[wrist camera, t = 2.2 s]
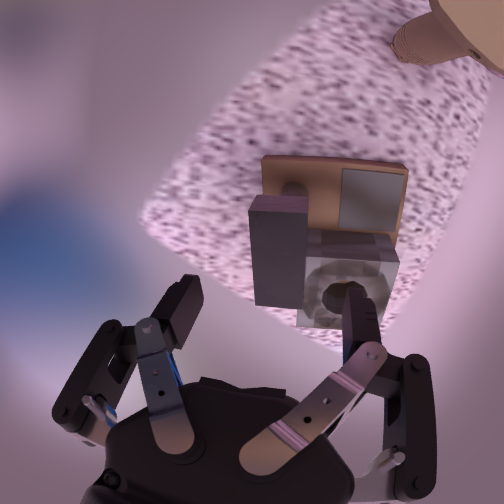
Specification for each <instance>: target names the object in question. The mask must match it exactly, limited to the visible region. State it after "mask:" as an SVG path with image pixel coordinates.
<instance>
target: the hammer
mask: <svg viewBox="0 0 504 504" xmlns="http://www.w3.org/2000/svg"><path fill="white" fill-rule="evenodd" d="M308 212H309V196H308V191H307V189H306V188H305V187H304V186H303V185H302V184H300V183H297V182H289V183H287V184H285V185H284V186H283V187H282V188H281V190H280V193H279V195H257V196H256V197H255V199H254V201H253V203H252V205H251V206H250V208H249V210H248V215H249V229H250V242H251V255H252V268H253V281H254V295H255V305H257V306H267V307H278V308H289V309H301V310H302V306H303V297H304V287H305V273H306V257H307V237H308Z"/></svg>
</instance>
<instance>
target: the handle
mask: <svg viewBox="0 0 504 504" xmlns="http://www.w3.org/2000/svg"><path fill="white" fill-rule="evenodd" d="M429 4H430V7H431V10H432V11H431V12H429V13H426V14H424V15H422V16H419V17H417V18H415V19H412V20H411V21H409V22H407V23H406V24H405V25H403V26H402V27H401V28H400V29H399V31H398V32H397V34H396V35H395V36H394V41H393V43H392V44H391V49H392V50H393V51H394V52H395V53H396V54H397V56H398V59H399V60H400V61H401V62H404V63H408V62H409V63H413V64H418V65H431V64H438V63H442V62H446V61H449V60H453V59H456V58H460V57H464V56H470V57H472V58H473V59H474V60H476V61H478V62H479V63H481V64H483V65H484V66H486V67H488V68H490V69H492V70H494V71H496V72H499V73H501V74H503V75H504V0H429Z"/></svg>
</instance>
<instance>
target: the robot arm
mask: <svg viewBox="0 0 504 504" xmlns="http://www.w3.org/2000/svg"><path fill="white" fill-rule="evenodd" d="M487 68H488V67H487ZM488 69H489V70H490V71H491V72H492V73H494V74H495V75H497V76H498V77H500V78H503V79H504V75H503V74H501V73H499V72H496V71H494V70H492V69H490V68H488ZM203 301H204V296H203V291H202V287H201V283H200V278H199V276H198V275H192V274H185V275H184V276H183V277H182V279H181V280H180V282H175V283H174V284H173V285H172V286H170V287H169V288H168V289H167V291H166V293H165V295H164V296H163V297H162V300H160V302H159V303H158V305H157V306H156V308H155V309H154V311H153V313H152V314H151V316H150V317H147V318H143V319H141V320H140V321H138V322H137V323H136V325H135V326H122V325H121V323H120V322H119V321H118V320H115V319H112V320H108V321H106V322H104V323H103V324H102V325H101V327H100V328H99V330H98V331H97V333H96V334H95V336H94V337H93V339H92V341H91V342H90V344H89V345H88V347H87V349H86V350H85V352H84V354H83V355H82V357H81V358H80V360H79V362H78V363H77V365H76V367H75V368H74V370H73V372H72V373H71V375H70V377H69V379H68V380H67V382H66V384H65V386H64V388H63V389H62V391H61V393H60V395H59V396H58V398H57V400H56V402H55V404H54V406H53V408H52V417H53V420H54V421H55V422H56V423H58V424H59V425H60V426H61V427H63V428H64V429H65V430H66V431H67V432H68V433H70V434H71V435H72V436H74V437H75V438H77V439H78V440H81V441H82V442H84V443H85V444H87V445H88V446H98V447H100V448H103V449H105V451H106V462H105V469H104V471H103V473H102V475H101V476H100V477H99V479H98V480H97V481H96V482H94V483H93V484H92V485H91V486H90V487H89V488H88V489H87V490H86V492H85V494H84V496H83V498H82V500H81V503H80V504H374V503H380V504H404V503H408V502H411V501H415V500H418V499H421V498H424V497H426V496H427V495H428V494H430V493H431V492H432V490H433V489H434V487H435V484H436V473H437V472H436V471H437V436H436V417H435V405H434V395H433V387H432V379H431V372H430V365H429V363H428V361H427V359H426V358H425V357H423V356H422V355H419V354H410V355H408V356H407V357H406V358H405V359H404V358H400V357H397V356H393V355H391V354H389V353H388V352H387V350H386V348H385V347H384V346H383V345H382V342H381V336H380V329H379V323H378V317H377V311H376V306H375V304H374V302H373V301H372V300H371V298H363V293H362V288H357V287H347V291H346V296H345V301H344V306H343V311H342V335H343V366H342V367H341V368H340V369H339V370H338V371H337V372H332V373H331V374H330V375H329V376H328V377H327V378H325V379H324V381H322V382H321V384H319V385H318V386H317V387H316V388H315V389H314V390H313V391H312V392H311V393H310V394H309V395H308V396H307V397H305V398H304V399H303V400H302V401H301V402H299V401H297V400H295V399H294V398H292V397H289V396H286V390H285V389H276V388H268V387H259V388H246V389H241V388H238V387H235V386H233V385H231V384H228V383H226V382H224V381H221V380H217V379H212V378H207V377H201V379H200V381H199V382H194V383H189V384H185V385H183V382H182V380H181V377H180V374H179V372H178V369H177V366H176V363H175V360H174V357H173V354H172V351H173V349H174V348H176V349H180V350H181V349H182V347H183V345H184V343H185V341H186V339H187V337H188V335H189V333H190V331H191V329H192V326H193V324H194V322H195V320H196V318H197V316H198V314H199V312H200V310H201V308H202V306H203ZM113 355H114V357H113ZM112 357H113V358H112ZM111 358H112V360H111ZM110 360H111V362H110ZM109 362H110V364H109ZM137 363H138V368H139V372H140V377H141V381H142V386H143V390H144V394H145V398H146V402H147V407H145V408H143V409H142V410H140V411H138V412H136V413H135V414H133V415H131V416H129V417H128V418H126V419H124V420H122V421H120V422H119V423H117V422H116V420H117V414H116V412H115V409H116V407H117V405H118V403H119V400H120V398H121V396H122V394H123V391H124V389H125V388H126V385H127V383H128V381H129V379H130V377H131V375H132V373H133V371H134V369H135V366H136V364H137ZM108 364H109V366H108ZM367 393H371V394H374V395H377V396H381V397H384V434H383V450H382V452H381V453H380V454H379V455H377V456H376V457H375V458H373V459H372V460H371V461H370V462H369V464H368V466H367V470H366V472H365V474H364V475H363V476H362V477H361V478H354V476H353V474H352V472H351V470H350V469H349V467H348V466H347V465H346V464H345V462H344V461H343V459H342V458H341V456H340V455H339V454H338V452H337V451H336V450H335V448H334V447H333V445H332V444H331V443H330V441H329V440H328V438H329V437H330V436H331V435H332V434H333V433H334V432H335V431H336V430H337V429H338V427H339V426H340V425H341V424H342V423H343V422H344V420H345V419H346V418H347V417H348V415H349V414H350V413H351V412H352V411H353V410H354V409H355V407H356V406H357V405H358V404H359V403H360V402H361V400H362V399H363V398H364V397H365V396H366V394H367Z"/></svg>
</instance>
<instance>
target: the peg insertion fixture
mask: <svg viewBox="0 0 504 504" xmlns="http://www.w3.org/2000/svg"><path fill="white" fill-rule="evenodd" d="M261 165H262V184H263V195H279V193H280V190H281V188H282V187H283V186H284V185H285V184H287V183H289V182H297V183H300V184H302V185H303V186H304V187H305V188H306V189H307V191H308V196H309V212H308V237H307V257H306V273H305V287H304V297H303V306H302V310H301V309H297V322H296V327H308V328H321V329H337V330H342V311H343V306H344V301H345V296H346V291H347V287H357V288H362V293H363V298H371V300H372V301H373V302H374V304H375V306H376V311H377V317H378V323H379V326H380V324H381V321H382V318H383V315H384V313H385V310H386V307H387V304H388V301H389V298H390V295H391V292H392V289H393V285H394V282H395V279H396V275H397V272H398V268H399V265H400V261H399V259H398V256H397V253H396V251H395V245H396V241H397V236H398V232H399V227H400V222H401V217H402V211H403V206H404V200H405V194H406V187H407V180H408V172H409V170H408V169H407V168H406V167H405V166H404V165H403V164H395V163H387V162H379V161H369V160H359V159H347V158H333V157H316V156H286V155H265V156H264V157H263V158H262V160H261Z"/></svg>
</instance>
